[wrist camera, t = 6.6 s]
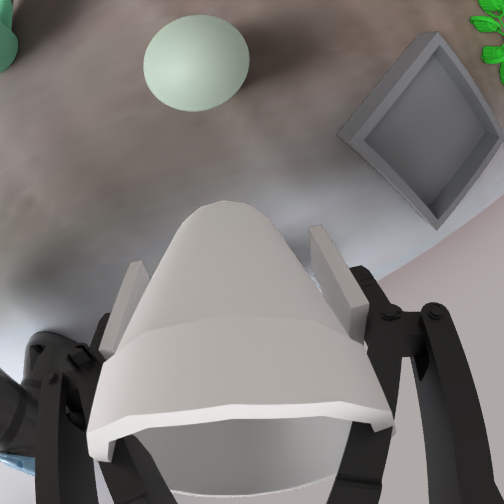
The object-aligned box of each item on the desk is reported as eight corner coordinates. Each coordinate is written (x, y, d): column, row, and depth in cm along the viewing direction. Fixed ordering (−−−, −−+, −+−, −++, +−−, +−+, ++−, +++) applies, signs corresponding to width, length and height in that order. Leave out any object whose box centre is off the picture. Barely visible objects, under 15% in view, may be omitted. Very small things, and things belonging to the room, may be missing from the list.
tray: (421, 217, 33) (436, 230, 30) (336, 134, 27) (349, 142, 24) (487, 130, 27) (505, 137, 24) (418, 33, 21) (437, 31, 18)
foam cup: (235, 139, 15) (284, 329, 4) (330, 250, 19) (424, 435, 8) (121, 247, 17) (47, 448, 6) (222, 326, 22) (233, 503, 11)
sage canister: (214, 112, 25) (209, 130, 16) (161, 81, 23) (124, 82, 14) (252, 62, 23) (270, 49, 14) (198, 30, 21) (183, -2, 12)
